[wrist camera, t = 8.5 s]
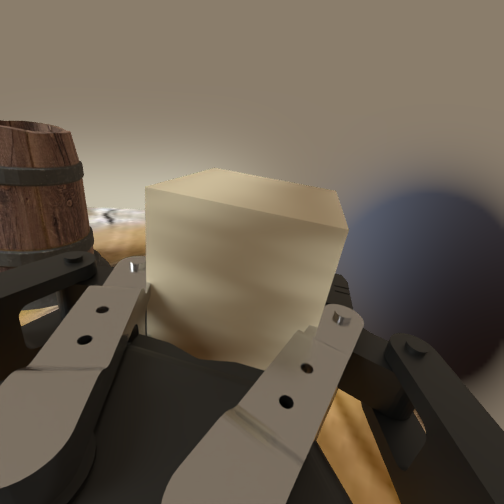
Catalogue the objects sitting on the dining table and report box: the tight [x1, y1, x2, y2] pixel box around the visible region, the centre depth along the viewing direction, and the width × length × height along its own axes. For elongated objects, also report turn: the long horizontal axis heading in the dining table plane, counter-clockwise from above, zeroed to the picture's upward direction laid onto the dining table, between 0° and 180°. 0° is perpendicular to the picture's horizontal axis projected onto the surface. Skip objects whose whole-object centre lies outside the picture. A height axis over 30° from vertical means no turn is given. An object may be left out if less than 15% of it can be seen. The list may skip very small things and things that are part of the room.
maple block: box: [145, 168, 349, 371], centre depth 11 cm, size 5×5×10 cm
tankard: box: [0, 120, 110, 310], centre depth 35 cm, size 24×17×20 cm
